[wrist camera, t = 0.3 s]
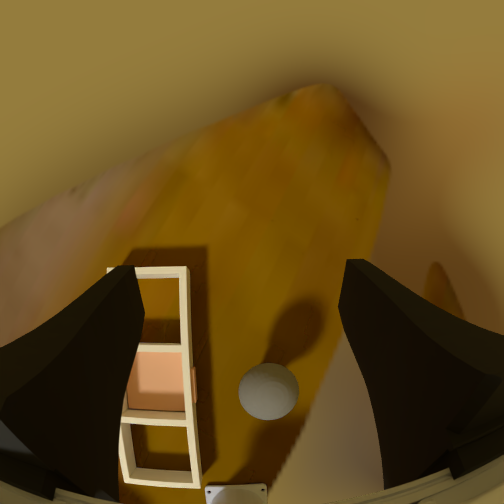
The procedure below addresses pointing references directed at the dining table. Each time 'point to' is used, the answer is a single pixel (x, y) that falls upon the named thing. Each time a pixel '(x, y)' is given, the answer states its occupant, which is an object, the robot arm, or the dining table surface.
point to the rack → (163, 392)
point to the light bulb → (268, 391)
